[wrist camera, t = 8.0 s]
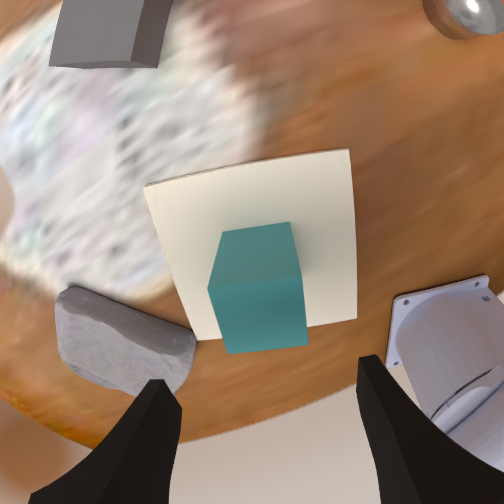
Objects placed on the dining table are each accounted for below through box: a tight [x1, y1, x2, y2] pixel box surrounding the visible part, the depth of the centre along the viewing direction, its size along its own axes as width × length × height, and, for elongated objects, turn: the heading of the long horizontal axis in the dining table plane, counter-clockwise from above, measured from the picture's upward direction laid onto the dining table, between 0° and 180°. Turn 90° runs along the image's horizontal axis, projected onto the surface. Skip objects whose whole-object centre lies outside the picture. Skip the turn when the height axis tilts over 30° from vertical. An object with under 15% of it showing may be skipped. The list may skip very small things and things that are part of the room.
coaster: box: [143, 148, 357, 340], centre depth 19 cm, size 12×12×1 cm
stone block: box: [54, 287, 197, 397], centre depth 23 cm, size 12×5×10 cm
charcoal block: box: [49, 0, 173, 69], centre depth 11 cm, size 5×5×4 cm
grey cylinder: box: [422, 0, 504, 40], centre depth 9 cm, size 4×4×4 cm
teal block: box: [207, 221, 309, 354], centre depth 16 cm, size 4×4×6 cm
